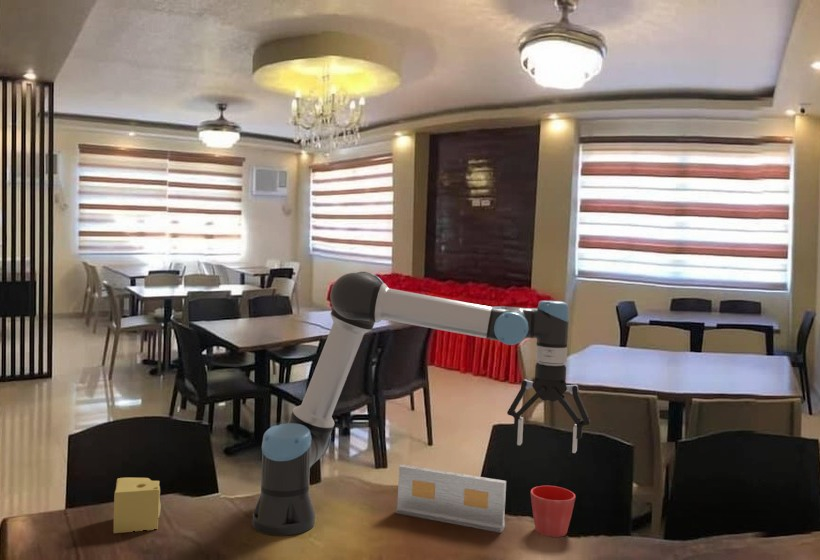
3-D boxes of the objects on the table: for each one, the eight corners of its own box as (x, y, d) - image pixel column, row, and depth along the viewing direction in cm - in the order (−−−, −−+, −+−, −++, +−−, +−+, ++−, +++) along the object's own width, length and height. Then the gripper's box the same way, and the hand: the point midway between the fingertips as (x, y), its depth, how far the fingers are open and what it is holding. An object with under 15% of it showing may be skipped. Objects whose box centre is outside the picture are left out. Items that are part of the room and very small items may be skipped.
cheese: (160, 514, 170) (161, 474, 169) (159, 531, 159) (160, 489, 159) (115, 517, 166) (116, 477, 166) (110, 535, 156) (111, 492, 156)
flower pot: (574, 542, 163) (576, 502, 162) (528, 537, 165) (530, 497, 164) (572, 525, 173) (574, 487, 173) (529, 520, 175) (530, 483, 175)
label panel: (395, 513, 176) (397, 467, 176) (401, 507, 180) (403, 463, 180) (501, 532, 166) (503, 484, 166) (504, 527, 170) (507, 479, 170)
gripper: (498, 360, 169) (494, 444, 170) (601, 370, 160) (596, 458, 161) (505, 356, 176) (501, 437, 177) (604, 365, 167) (599, 451, 168)
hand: (546, 447), depth 169 cm, fingers open, 13 cm apart
